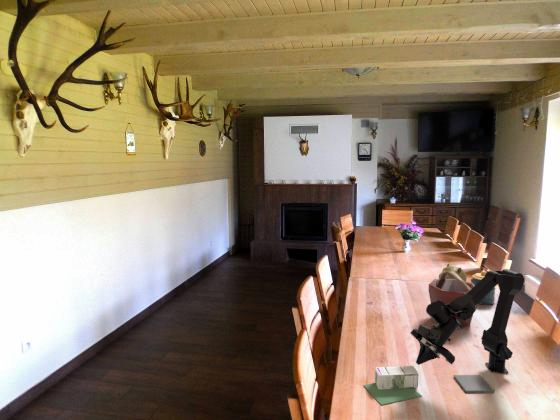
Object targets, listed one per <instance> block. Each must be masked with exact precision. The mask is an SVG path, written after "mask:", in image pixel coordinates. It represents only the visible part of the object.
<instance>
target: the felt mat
mask: <svg viewBox="0 0 560 420" xmlns="http://www.w3.org/2000/svg"><path fill="white" fill-rule="evenodd" d="M363 387H364V388H365V389H366V391H368V392H369V394H371V396H372V397H373V398H374V399H375V400H376V401H377V402H378V404H379V405H380V406H385V405H391V404H394V403H398V402H403V401H407V400H412V399H417V398H420V397H422V395H423V394H421V393H420V392H418V391H417V390H416V388H404V389H382V390H380V389H378V387H377V385H376V383H375V382H373V383H368V384H364V385H363Z"/></svg>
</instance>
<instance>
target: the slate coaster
mask: <svg viewBox="0 0 560 420" xmlns="http://www.w3.org/2000/svg"><path fill="white" fill-rule="evenodd" d="M453 378H454V380H456V382H457V383H458V385H459V386H460V387H461V389H463V391H464V393H466V394H468V393H471V394H473V393H474V394H475V393H476V394H477V393H478V394H479V393H482V394H483V393H484V394H486V393H489V394H490V393H493V394H494V393H495V389H494V388H493V387H492V386H491V385H490V384H489V383H488V381H487V380H485V378H484V377H483V376H482V375H481V374H453Z"/></svg>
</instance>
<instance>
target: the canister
mask: <svg viewBox="0 0 560 420" xmlns="http://www.w3.org/2000/svg"><path fill="white" fill-rule="evenodd" d="M486 273H487V271H485V270H482V271H481V272H476V273H474V274H472V277H471V278H470V279H469V280H470V283H473V284H474V285H476V284H477V283H478V282H479V281H480V280H481V279H482V278H483V277H484V276H485V275H486ZM496 289H497V288H496V286H495V287H494V288H493V289H492V290H491V291H490V292H489V293H488V294H487V295H486V296H485V297H484V298H483V299H482V300H481V301H480V302H479V303H478V304H477V305H483V306H485V305H486V306H487V305H488V306H489V305H493V304H494V303H495V301H496Z"/></svg>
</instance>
